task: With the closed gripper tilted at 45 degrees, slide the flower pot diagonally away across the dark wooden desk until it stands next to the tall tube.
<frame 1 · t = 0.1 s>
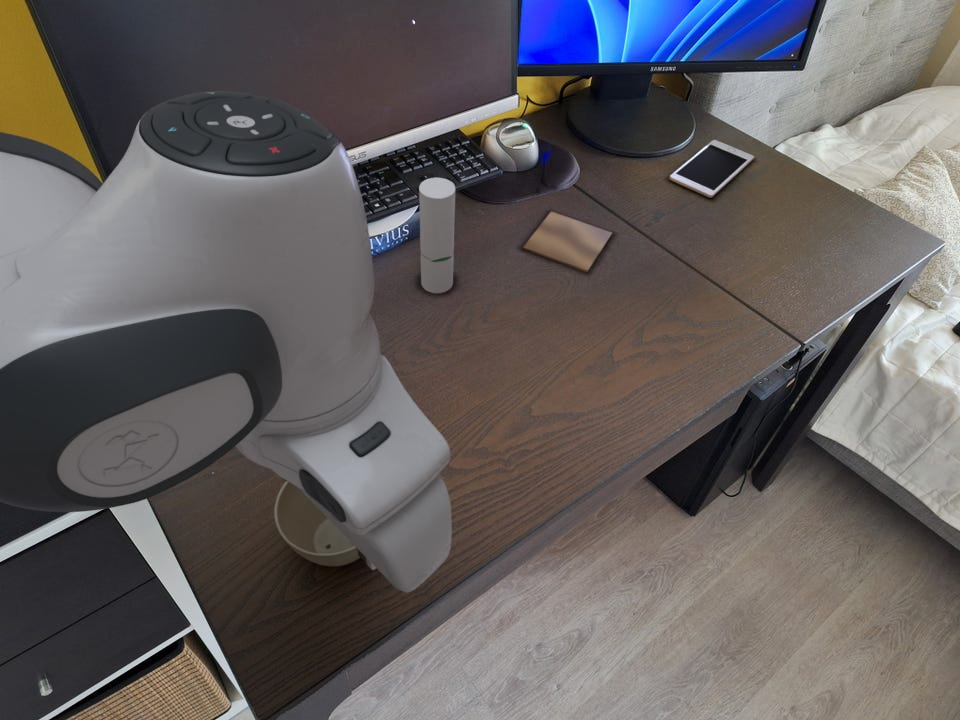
hand: (331, 511, 47), 18 cm above the table, tool pointing down, fingers open, 8 cm apart
shiny brown rectangular coaster: (568, 241, 98), on the table
flower pot: (340, 540, 65), on the table
cell phone: (711, 170, 113), on the table
tube: (437, 283, 91), on the table
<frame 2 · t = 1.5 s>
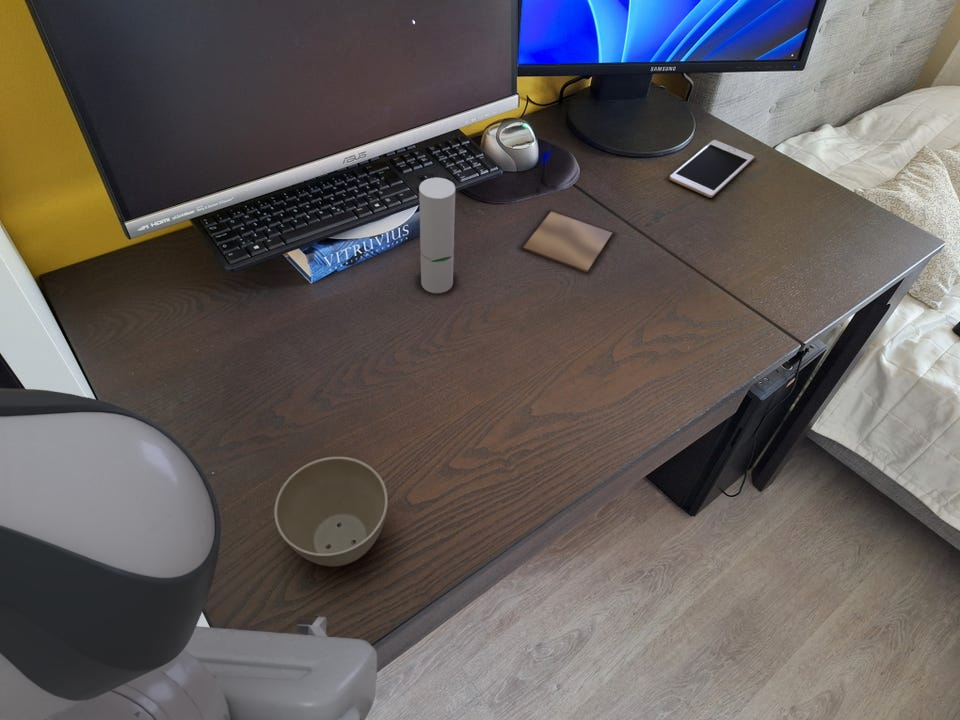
hand: (247, 621, 45), 15 cm above the table, tool tilted 45°, fingers open, 8 cm apart
nothing on the table moved.
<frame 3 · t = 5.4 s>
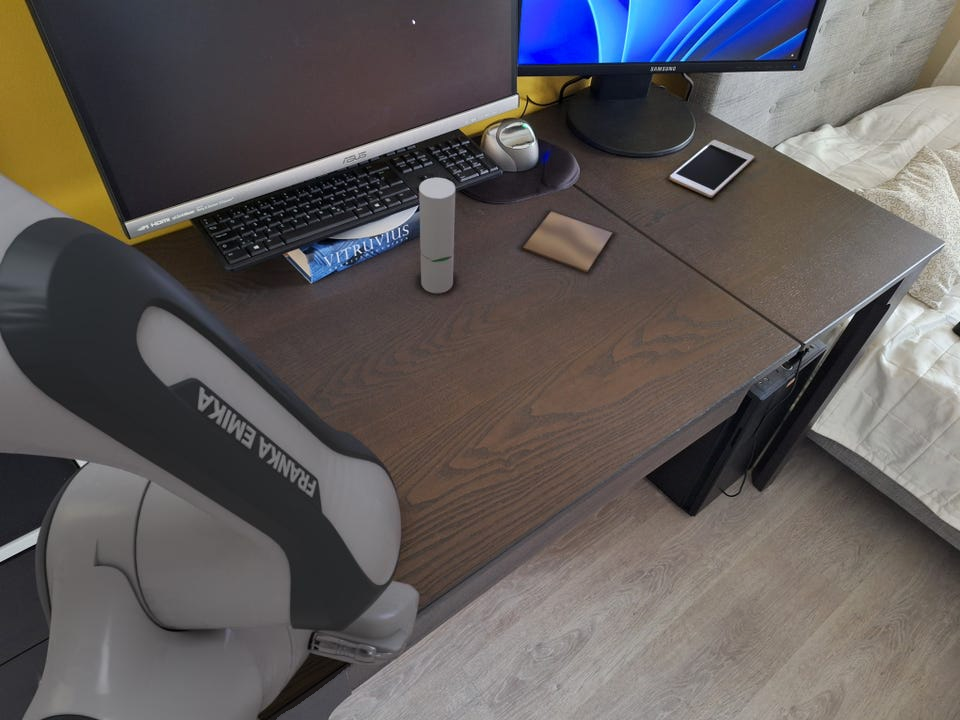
hand: (319, 559, 59), 5 cm above the table, tool tilted 45°, fingers closed, pressing on flower pot
flower pot: (344, 531, 66), on the table, touching gripper
everything else where it was.
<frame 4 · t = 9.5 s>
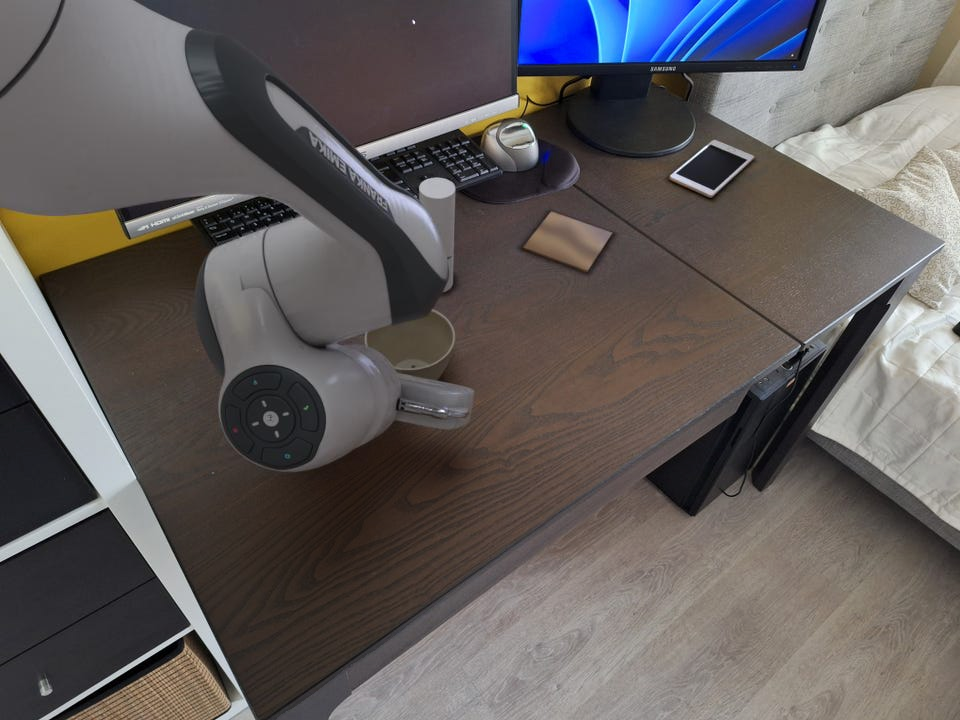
hand: (388, 382, 72), 5 cm above the table, tool tilted 45°, fingers closed, pressing on flower pot
flower pot: (411, 378, 79), on the table, touching gripper
everything else where it was.
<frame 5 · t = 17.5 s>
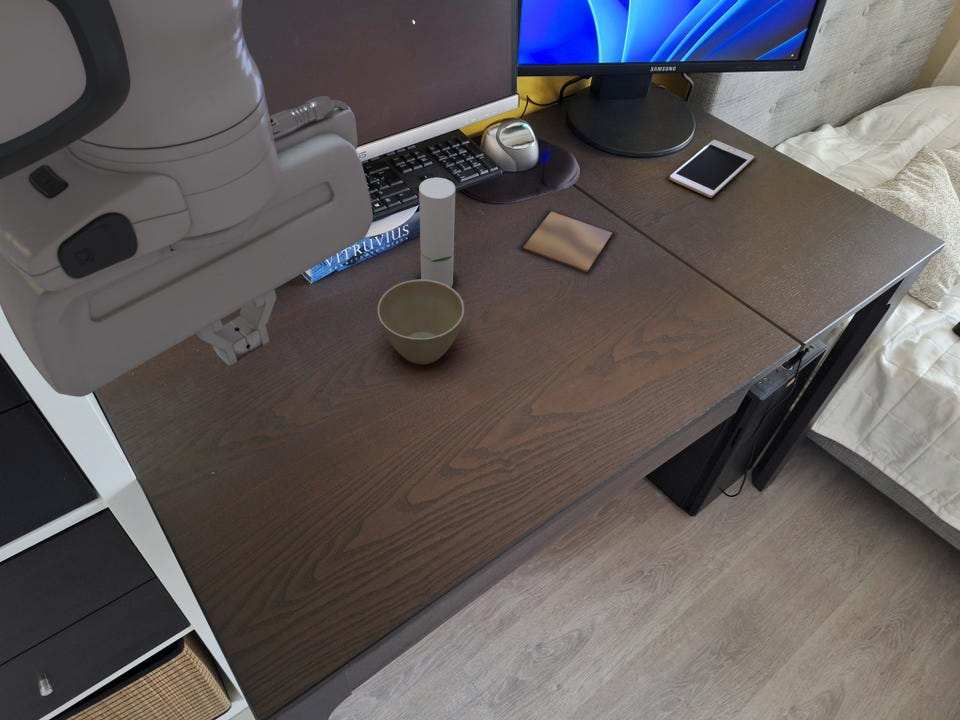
hand: (243, 348, 42), 29 cm above the table, tool pointing down, fingers closed
flower pot: (422, 350, 82), on the table
everything else where it was.
at the end: flower pot 12.4 cm from the tube (horizontally); flower pot moved 26.3 cm from its start; tube tilted 0° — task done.
